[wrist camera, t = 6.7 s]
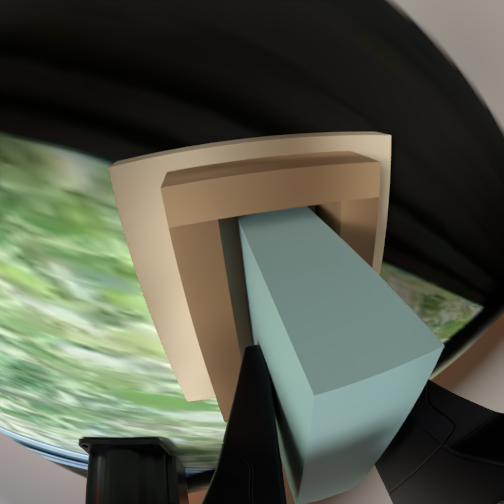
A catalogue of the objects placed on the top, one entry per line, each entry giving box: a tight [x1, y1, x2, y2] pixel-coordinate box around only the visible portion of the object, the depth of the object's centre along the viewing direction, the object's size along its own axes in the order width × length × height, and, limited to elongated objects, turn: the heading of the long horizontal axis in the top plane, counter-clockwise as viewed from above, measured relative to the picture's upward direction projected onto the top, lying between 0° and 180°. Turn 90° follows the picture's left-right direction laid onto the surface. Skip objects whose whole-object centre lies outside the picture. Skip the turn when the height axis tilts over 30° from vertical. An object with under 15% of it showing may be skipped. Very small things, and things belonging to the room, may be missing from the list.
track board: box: [108, 132, 391, 422], centre depth 10 cm, size 9×11×3 cm
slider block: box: [236, 206, 444, 504], centre depth 7 cm, size 2×7×6 cm, turn 5°
